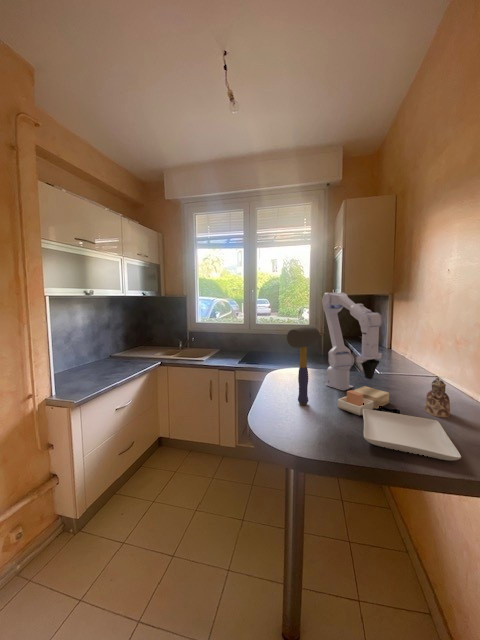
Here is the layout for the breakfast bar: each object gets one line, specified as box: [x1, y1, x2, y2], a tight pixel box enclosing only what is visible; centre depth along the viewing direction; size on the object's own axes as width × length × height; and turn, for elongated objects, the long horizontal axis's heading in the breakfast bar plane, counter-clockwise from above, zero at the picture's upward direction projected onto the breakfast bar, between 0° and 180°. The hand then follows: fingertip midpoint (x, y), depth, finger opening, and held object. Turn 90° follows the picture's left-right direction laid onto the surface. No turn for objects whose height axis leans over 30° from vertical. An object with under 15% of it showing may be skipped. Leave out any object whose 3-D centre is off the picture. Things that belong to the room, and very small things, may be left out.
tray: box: [336, 395, 374, 417], centre depth 95 cm, size 9×9×3 cm
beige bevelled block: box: [351, 385, 390, 409], centre depth 101 cm, size 10×9×4 cm
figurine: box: [423, 377, 451, 418], centre depth 90 cm, size 7×7×12 cm
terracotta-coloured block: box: [346, 389, 363, 407], centre depth 95 cm, size 5×5×2 cm
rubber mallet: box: [286, 326, 321, 406], centre depth 98 cm, size 12×8×30 cm, turn 128°
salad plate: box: [362, 409, 462, 461], centre depth 74 cm, size 21×21×3 cm
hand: (368, 378), depth 100 cm, fingers closed
